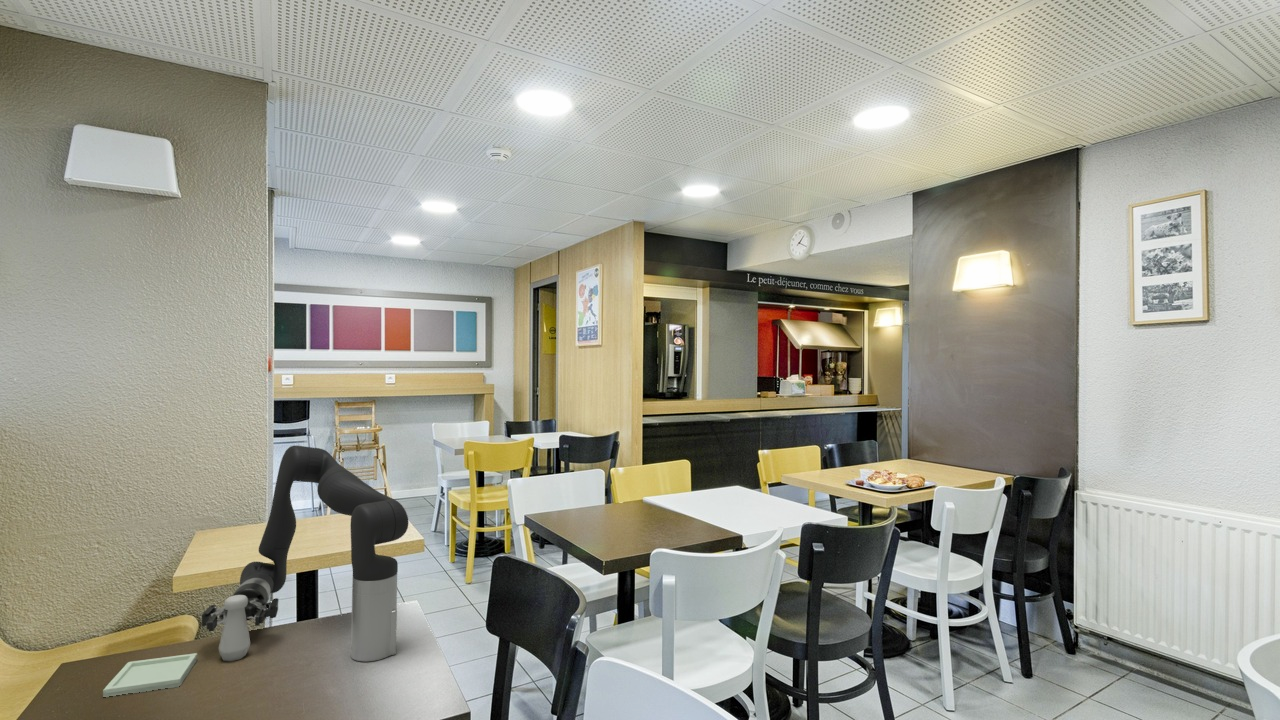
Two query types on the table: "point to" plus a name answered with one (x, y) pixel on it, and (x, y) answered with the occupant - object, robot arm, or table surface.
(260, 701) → the table surface
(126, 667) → the tray
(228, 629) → the salt shaker
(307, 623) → the table surface
